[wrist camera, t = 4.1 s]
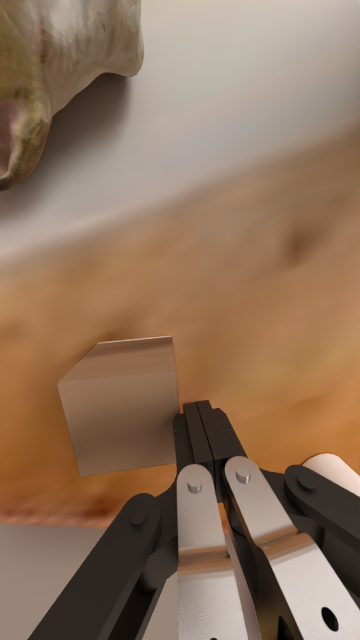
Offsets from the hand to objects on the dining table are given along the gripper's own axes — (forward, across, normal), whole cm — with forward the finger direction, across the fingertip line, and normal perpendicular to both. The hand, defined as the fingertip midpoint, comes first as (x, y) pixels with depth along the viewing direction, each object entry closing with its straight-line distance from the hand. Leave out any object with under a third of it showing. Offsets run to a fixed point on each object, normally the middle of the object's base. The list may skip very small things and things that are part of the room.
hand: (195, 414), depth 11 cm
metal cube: (+6, +4, 0) cm, 7 cm away
